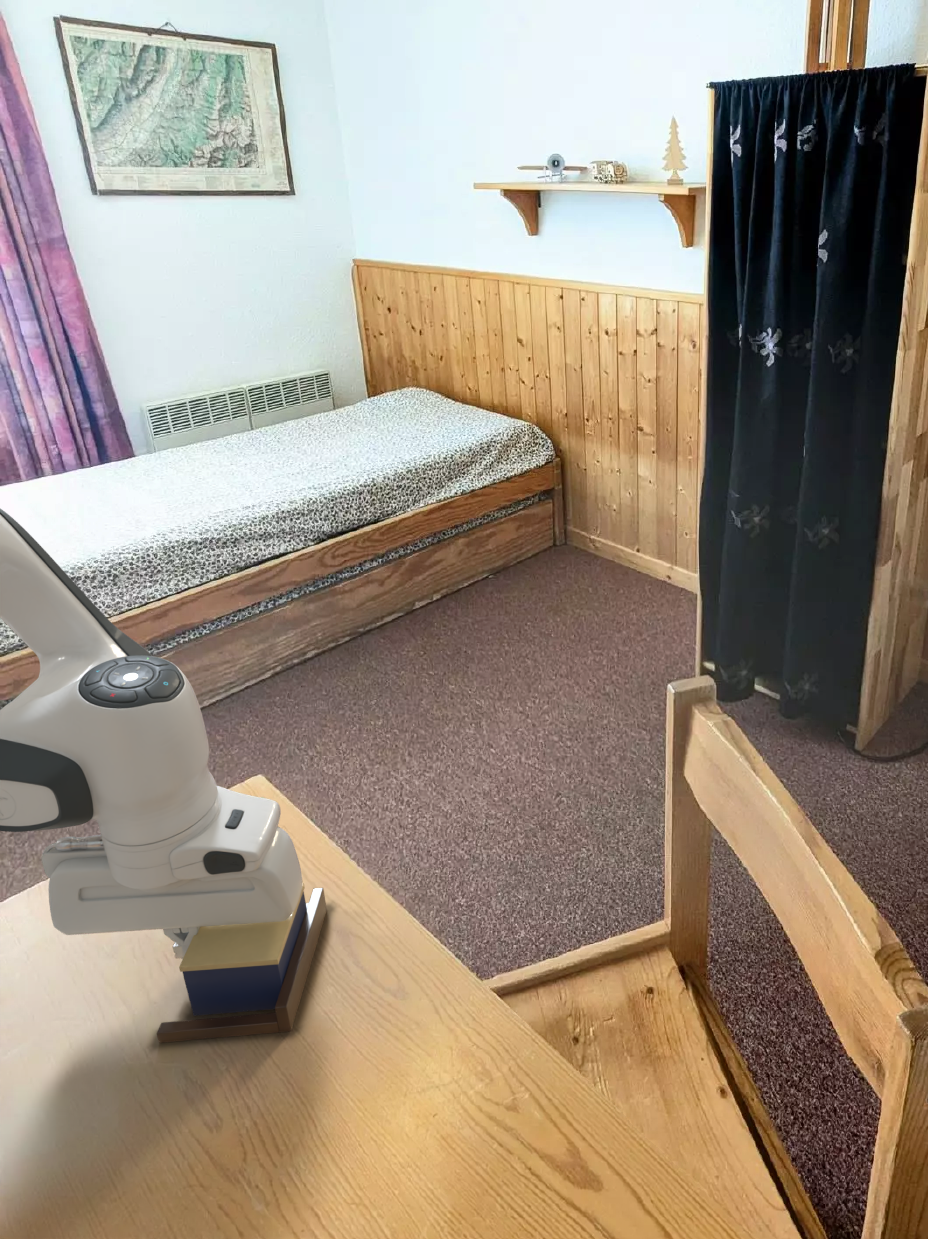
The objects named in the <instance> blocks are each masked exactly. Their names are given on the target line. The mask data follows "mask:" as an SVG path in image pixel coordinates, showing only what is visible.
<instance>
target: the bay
mask: <svg viewBox="0 0 928 1239" xmlns="http://www.w3.org/2000/svg"><path fill="white" fill-rule="evenodd" d="M306 907H307V910H306V913H305V916H304V919H303V922H302V925H301V928H300V931H299V934H298V938H297V941H296V944H295V947H294V950H293V953H292V956H291V959H290V962H289V965H288V969H287V972H286V975H285V978H284V981H283V984H282V987H281V990H280V993H279V996H278V1000H277V1003H276V1006H275V1009H274V1011H275V1012H267V1013H255V1014H244V1015H234V1016H233V1015H232V1016H223V1017H222V1016H221V1017H211V1018H210V1017H209V1018H199V1019H187V1020H176V1021H175V1020H174V1021H163V1022H160V1025H159V1027H158V1029H157V1031H156V1035H157V1036H156V1037H157V1040H158V1043H159V1044H161V1043H171V1042H182V1041H183V1042H184V1041H193V1040H194V1041H195V1040H207V1039H216V1038H217V1039H219V1038H228V1037H239V1036H251V1035H263V1034H274V1033H284V1032H285V1033H287V1032H292V1029H293V1026H294V1023H295V1019H296V1016H297V1013H298V1010H299V1006H300V1003H301V999H302V996H303V992H304V989H305V987H306V982H307V979H308V976H309V972H310V969H311V965H312V962H313V958H314V955H315V953H316V948H317V945H318V942H319V938H320V935H321V932H322V928H323V924H324V921H325V918H326V915H327V911H328V908H327V902H326V895H325V889H324V887H315V888H314V887H313V889H312V891H311V895H310V898H309V899H308V902H306Z"/></svg>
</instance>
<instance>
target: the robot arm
mask: <svg viewBox="0 0 928 1239" xmlns="http://www.w3.org/2000/svg"><path fill="white" fill-rule="evenodd" d="M0 620H1V621H2V622H3V623H4V624H6V626H7V627H9V628H10V630H11V631H12V632H13V633H14V634H15V635H16V636H17V637H18V638H19V639H20V640H21V641H22V642H24V644H25V645H26V646H27V647H28V648H29V649H30V650H31V651H32V652H33V653H34V654H35V655H36V656H37V659H38V661H39V674H38V677H37V679H36V680H34V681H33V682H32V683H31V684H30V685H29V686H27V687H26V688H25V689H24V690H22V692H21V693H20V694H18V695H17V696H16V697H15V698H14V699H13V700H12V701H11V702H9V703H7V704H6V705H4V707H2V708H1V709H0V832H7V833H26V832H39V831H50V830H56V829H57V830H58V829H66V828H70V827H76V826H81V825H83V824H87V823H89V822H90V821H95V822H97V825H98V829H99V833H100V834H95V835H89V836H81V837H78V836H64V837H60V838H58V839H57V840H56V841H55V842H53V843H51V844H49V845H47V846H46V847H45V848H44V850H43V851H42V854H41V857H40V858H41V859H40V860H41V864H42V867H43V868H42V869H43V871H44V873H45V875H46V876H47V878H48V879H49V881H48V903H49V904H48V905H49V912H50V917H51V922H52V926H53V928H55V930H57V931H58V932H60V933H61V934H63V935H66V936H77V935H78V936H79V935H90V934H91V935H92V934H107V933H122V932H123V933H124V932H139V931H153V930H154V931H155V930H163V934H164V935H165V936H166V937H167V938H168V939H170V940H171V941H172V942H173V944H172V950H173V953H174V958H175V959H183V958H184V955H185V953H186V951H187V949H188V947H189V945H190V943H191V940H192V938H193V936H194V935H197V933H198V931H199V929H200V927H202V926H217V925H232V924H248V923H263V922H281V921H285V920H287V919H288V918H289V917H290V915H291V914H292V913H293V912H294V910H295V908H296V906H297V903H298V901H299V898H300V894H301V890H302V885H303V873H302V869H301V864H300V860H299V857H298V853H297V851H296V850H297V849H296V847H295V845H294V842H293V840H292V838H291V836H290V834H289V833H288V831H286V830H285V829H283V828H282V827H280V826H279V824H280V819H281V814H282V811H281V806H280V804H279V802H277V801H276V800H274V799H271V798H266V797H260V796H255V795H250V794H247V793H242V792H238V791H235V790H232V789H228V788H225V787H223V786H220V785H218V784H217V782H216V779H215V778H214V775H213V774H212V773H211V772H210V770H209V766H208V763H209V758H210V742H209V739H208V734H207V729H206V726H205V721H204V716H203V713H202V710H201V706H200V703H199V701H198V698H197V695H196V692H195V690H194V688H193V686H192V684H191V682H190V681H189V679H188V678H187V676H186V674H184V672H183V671H182V670H181V669H180V668H179V666H177V665H176V664H175V663H174V662H171V661H170V660H167V659H165V658H162V657H159V656H153V655H152V654H151V653H150V652H149V651H148V650H147V649H146V648H145V647H143V645H141V644H140V643H138V642H137V641H135V640H134V639H133V638H131V637H130V636H129V635H127V634H126V633H125V632H123V631H122V630H121V629H120V628H118V627H117V626H116V625H115V624H114V623H113V622H111V620H109V618H107V617H106V616H105V615H104V613H102V611H101V610H100V609H99V608H98V607H97V606H96V605H95V603H93V601H91V599H90V598H89V597H88V595H86V594H85V593H84V592H83V590H82V589H81V588H80V587H79V586H78V584H76V583H75V582H74V580H72V578H71V577H70V576H69V575H68V574H67V573H66V572H65V571H64V570H63V568H62V567H61V566H60V565H59V563H57V562H56V561H55V560H54V559H53V557H51V555H50V554H49V553H48V552H47V551H46V550H45V549H44V547H42V546H41V544H40V543H39V542H38V541H37V540H36V539H35V538H34V537H33V536H32V535H31V534H30V533H29V532H28V531H27V530H26V529H25V528H24V527H23V526H22V525H21V524H20V523H19V522H18V521H17V520H16V519H14V517H12V516H11V515H10V514H9V513H7V512H6V511H4V510H3V509H2V508H0Z"/></svg>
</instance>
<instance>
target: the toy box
mask: <svg viewBox="0 0 928 1239" xmlns="http://www.w3.org/2000/svg"><path fill="white" fill-rule="evenodd" d="M306 903H307V902H306V896H305V883H303V885H302V890H301V894H300V898H299V901H298V903H297V906H296V908H295V910H294V912H293V913H292V914H291V915H290V917H289V918H288V919H287V920H285V921H281V922H263V923H248V924H232V925H217V926H202V927H200V929H199V931H198V933H197V935H194V936H193V938H192V940H191V943H190V945H189V947H188V949H187V951H186V953H185V955H184V958H182V960H181V962H180V964H179V966H178V967H179V972H180V973H182V976H183V980H184V983H185V988H186V992H187V996H188V999H189V1004H190V1007H191V1011H192V1015H193V1017H195V1016H208V1015H220V1014H221V1015H222V1014H233V1013H245V1012H246V1013H247V1012H257V1011H259V1012H260V1011H270V1010H275V1006H276V1003H277V1000H278V996H279V993H280V990H281V987H282V984H283V981H284V978H285V975H286V972H287V969H288V965H289V962H290V959H291V956H292V953H293V950H294V947H295V944H296V941H297V938H298V934H299V931H300V928H301V925H302V922H303V919H304V916H305V913H306V910H307V907H306Z"/></svg>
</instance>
